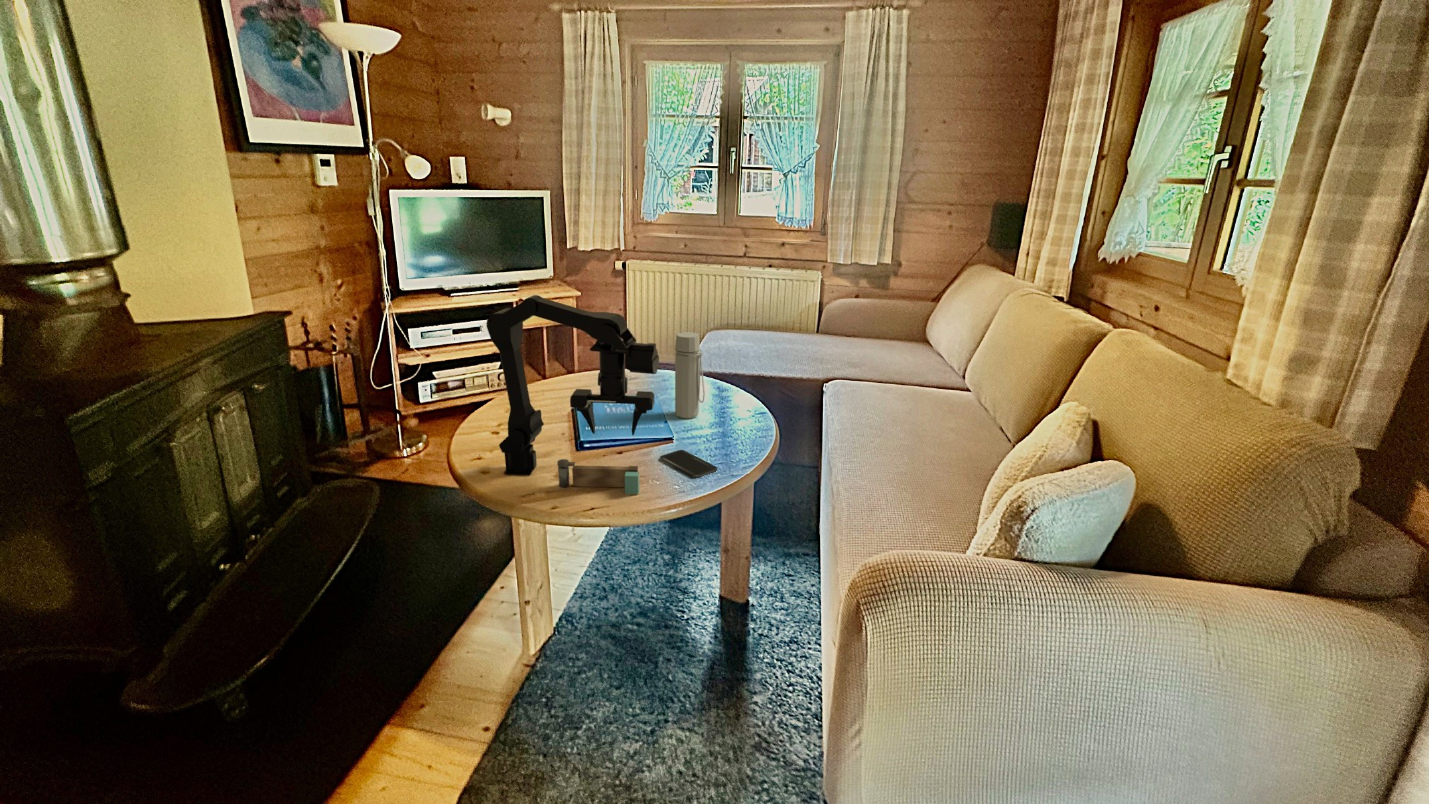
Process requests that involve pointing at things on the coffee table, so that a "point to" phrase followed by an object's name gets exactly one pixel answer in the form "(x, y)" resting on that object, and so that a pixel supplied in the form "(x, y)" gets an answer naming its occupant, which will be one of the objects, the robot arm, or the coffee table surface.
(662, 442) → the coffee table surface
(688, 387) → the water bottle
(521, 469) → the robot arm
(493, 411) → the coffee table surface
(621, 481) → the gate
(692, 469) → the phone
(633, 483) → the block
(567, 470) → the hinge post
